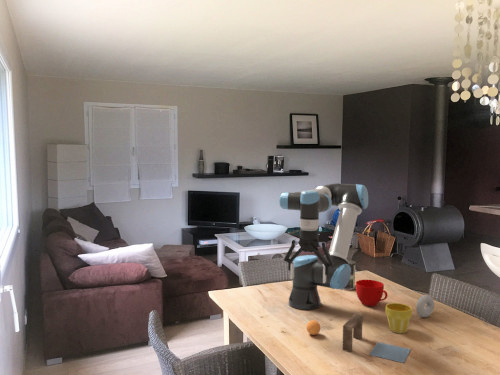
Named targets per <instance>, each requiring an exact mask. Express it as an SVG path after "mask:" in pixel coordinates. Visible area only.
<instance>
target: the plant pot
mask: <svg viewBox="0 0 500 375" xmlns="http://www.w3.org/2000/svg"><path fill="white" fill-rule="evenodd" d="M385 315H386V317H387V321H388V325H389V326H388V327H389V330H390V331H391V332H393V333H395V334H396V333H397V334H405V333H407V332H408V328H409V323H410V320H411V318H412V316H413V308H412V307H411V306H410V305H409V304H406V303H401V302H392V303H387V304H385Z"/></svg>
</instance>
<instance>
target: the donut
mask: <svg viewBox="0 0 500 375" xmlns="http://www.w3.org/2000/svg"><path fill="white" fill-rule="evenodd" d="M434 308H435V301H434V298H433V297H432V296H431V295H429V294H422V295H421V296H420V297H419V298H418V300H417V302H416V306H415V310H416V313H417V314H418V315H419V316H420V317H421V318H428V317H429V316H431V314H432V313H433V312H434Z"/></svg>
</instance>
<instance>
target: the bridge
mask: <svg viewBox="0 0 500 375" xmlns="http://www.w3.org/2000/svg"><path fill="white" fill-rule="evenodd" d="M363 315H364V314H362V313H354V314H353V315H352V316H351V317H350V318H349V319H348V320H347V321H346V322H345V323H344V324H343V326H342V351H345V352H352V351H353V339H358V340H362V338H363V321H364V320H363V317H364V316H363Z"/></svg>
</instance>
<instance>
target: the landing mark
mask: <svg viewBox="0 0 500 375" xmlns="http://www.w3.org/2000/svg"><path fill="white" fill-rule="evenodd" d="M411 350H412V349H411V348H407V347H403V346H399V345H394V344H390V343H384V342H380V341H378V342H376V344H375V345H374V347H373V348H372V350H371V351H370V353H369V356H373V357H377V358H381V359H386V360H389V361H390V360H391V361H393V362H397V363H402V364H405V362H406V360H407V358H408V356H409V354H410V352H411Z"/></svg>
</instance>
